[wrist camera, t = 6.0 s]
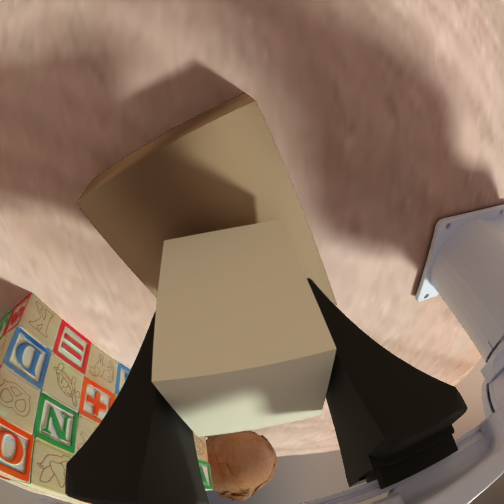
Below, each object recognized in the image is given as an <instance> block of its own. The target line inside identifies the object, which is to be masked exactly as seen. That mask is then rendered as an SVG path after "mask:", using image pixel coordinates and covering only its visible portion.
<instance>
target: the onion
mask: <svg viewBox="0 0 504 504" xmlns="http://www.w3.org/2000/svg"><path fill="white" fill-rule="evenodd" d="M206 447H207V454H208V463H209V464H210V469H211V476H212V484H213V490H214V491H216V492H219V493H221V494H220V495H218V496H221V497H226V498H230V499H232V500H238V501H244V500H246V499H247V498H249V497H250V496H251V495H254V494H255V492H257V491H258V490H259V489H260V488H262V487H263V486H264V485H265V484H266V483H268V482H269V481H270V480H271V479H272V477H273V476H274V474H275V472H276V468H277V458H276V453H275V451H274V449H273V447H272V446H271V444H270V443H269V441H268V440H267V439H266V438H265V437H264V436H263V435H261V436H260V435H258V434H257V433H255V432H252V431H241V432H234V433H227V434H219V435H212V436H209V437H208V439H207V440H206Z"/></svg>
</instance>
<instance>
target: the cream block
mask: <svg viewBox="0 0 504 504" xmlns="http://www.w3.org/2000/svg"><path fill="white" fill-rule="evenodd" d="M335 353H336V346H335V344H334V341H333V339H332V337H331V334H330V332H329V329H328V327H327V325H326V322H325V320H324V318H323V315H322V313H321V311H320V308H319V306H318V304H317V301H316V299H315V297H314V294H313V292H312V290H311V287H310V285H309V283H308V281H307V278H306V276H305V274H304V272H303V269H302V267H301V265H300V263H299V260H298V258H297V256H296V254H295V251H294V249H293V247H292V245H291V243H290V240H289V238H288V236H287V234H286V232H285V230H284V227H283V225H282V223H281V221H280V220H274V221H268V222H263V223H257V224H251V225H245V226H240V227H234V228H229V229H223V230H217V231H212V232H207V233H201V234H196V235H191V236H185V237H180V238H175V239H170V240H165V241H164V245H163V252H162V260H161V268H160V276H159V285H158V295H157V305H156V316H155V329H154V343H153V360H152V383H153V384H154V385H155V387H156V388H157V389H158V390H159V392H160V393H161V394H162V395H163V397H164V398H165V399H166V400H167V402H168V403H169V404H170V405H171V406H172V408H173V409H174V410H175V411H176V412H177V414H178V415H179V416H180V417H181V418H182V419H183V421H184V422H185V423H186V424H187V425H188V426H189V427H190V428H191V430H192V431H193V432H194V433H195V434H196V435H197V436H198V437H201V436H211V435H219V434H227V433H234V432H241V431H247V430H253V429H259V428H264V427H269V426H274V425H279V424H284V423H289V422H293V421H297V420H301V419H306V418H310V417H313V416H317V415H321V412H322V409H323V405H324V401H325V397H326V393H327V389H328V385H329V380H330V376H331V372H332V367H333V363H334V358H335Z"/></svg>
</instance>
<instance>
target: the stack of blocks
mask: <svg viewBox="0 0 504 504" xmlns="http://www.w3.org/2000/svg"><path fill="white" fill-rule="evenodd" d="M129 372H130V369H128V368H127V367H125V366H124V365H122V364H121V363H119V362H117V361H116V360H115V359H113V358H112V357H110V356H109V355H107V354H106V353H105V352H103V351H102V350H100V349H99V348H98V347H96V346H95V345H93V344H92V343H91V342H90V341H89V340H88V339H87V338H85V337H84V336H83V335H81V334H80V333H79V332H77V331H76V330H75V329H74V328H72V327H71V326H70V325H69V324H68V323H66V322H65V321H64V320H63V319H61V318H60V317H59V316H58V315H57V314H56V313H55V312H54V311H52V310H51V309H50V308H49V307H48V306H47V305H46V304H44V303H43V302H42V301H41V300H40V299H39V298H38V297H37V296H36V295H35V294H33V293H31V294H30V295H28V296H27V297H26V298H25V299H24V300H23V301H21V302H20V303H19V304H18V305H17V306H16V307H15V308H14V309H13V310H12V311H11V312H10V313H8V314H7V315H6V316H5V317H4V318H3V319H2V320H0V478H1V479H3V480H5V481H7V482H9V483H12V484H14V485H16V486H19V487H21V488H24V489H26V490H29V491H31V492H35V493H38V494H43V495H47V496H50V497H53V498H56V499H60V500H63V501H67V502H71V503H74V504H91V503H87V502H84V501H80V500H77V499H74V498H71V497H68V496H67V495H66V494H65V476H66V463H67V462H68V461H69V460H70V459H71V458H72V457H73V456H74V455H75V454H76V453H77V451H78V450H79V449H80V448H81V447H82V446H83V445H84V443H85V442H86V441H87V440H88V438H89V437H90V436H91V435H92V433H93V432H94V431H95V429H96V428H97V427H98V425H99V424H100V423H101V421H102V420H103V418H104V417H105V415H106V414H107V412H108V410H109V409H110V407H111V406H112V404H113V402H114V401H115V399H116V397H117V396H118V394H119V392H120V390H121V388H122V387H123V385H124V383H125V381H126V379H127V377H128V375H129ZM193 435H194V442H195V447H196V452H197V458H198V462H199V467H200V471H201V476H202V480H203V484H204V487H205V491H206V490H213V484H212V476H211V469H210V464H209V463H208V454H207V447H206V438H205V436H201V437H198V436H197V435H196V434H195V433H194V432H193Z"/></svg>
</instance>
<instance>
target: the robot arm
mask: <svg viewBox="0 0 504 504" xmlns="http://www.w3.org/2000/svg"><path fill="white" fill-rule="evenodd" d="M307 281H308V283H309V285H310V287H311V290H312V292H313V294H314V297H315V299H316V301H317V304H318V306H319V308H320V311H321V313H322V315H323V318H324V320H325V322H326V325H327V327H328V329H329V332H330V334H331V337H332V339H333V341H334V344H335V346H336V353H335V358H334V363H333V367H332V372H331V376H330V380H329V385H328V389H327V393H326V399H327V403H328V406H329V410H330V413H331V417H332V420H333V424H334V427H335V431H336V435H337V439H338V443H339V447H340V451H341V455H342V459H343V463H344V468H345V473H346V478H347V481H348V484H349V487H352V486H355V485H357V484H360V483H363V482H366V481H367V483H366V484H363V485H361V486H358V487H355V488H352V489H349V490H347V491H343V492H340V493H337V494H334V495H330V496H327V497H324V498H320V499H316V500H313V501H308V502H304V503H301V504H356V503H359V502H362V501H364V500H367V499H370V498H372V497H375V496H377V495H380V494H382V493H385V492H387V491H389V490H390V491H389V493H388V496H387V497H386V498H383V499H380V500H377V501H375V502H372V503H370V504H469V503H470V502H471V501H472V500H473V499H475V498H476V497H477V496H478V495H479V494H481V493H482V492H483V491H484V490H485V489H486V488H488V487H489V486H490V485H491V484H492V483H493V482H494V481H495V480H496V479H497V478H499V477H500V476H501V475H502V474H503V473H504V204H503V205H498V206H494V207H490V208H486V209H482V210H477V211H473V212H469V213H464V214H460V215H456V216H452V217H447V218H443V219H440V220H439V221H438V222H437V223H436V227H435V231H434V235H433V239H432V243H431V247H430V250H429V254H428V258H427V261H426V265H425V268H424V271H423V275H422V278H421V281H420V284H419V287H418V291H417V294H416V297H415V298H416V300H417V301H418V302H420V301H423V300H426V299H429V298H431V297H434V296H437V295H440V296H441V297H442V299H443V300H444V301H445V303H446V304H447V305H448V307H449V308H450V309H451V311H452V312H453V314H454V315H455V316H456V318H457V319H458V321H459V322H460V324H461V325H462V327H463V328H464V329H465V331H466V332H467V334H468V335H469V337H470V338H471V340H472V341H473V343H474V344H475V346H476V348H477V349H478V351H479V352H480V354H481V355H482V357H483V359H484V360H485V362H486V365H485V366H484V367H483V368H482V369H481V372H482V374H483V376H484V378H485V380H484V382H483V385H482V404H483V409H484V413H485V416H486V419H485V420H484V421H482V422H481V423H480V424H479V425H478V426H476V427H475V428H474V429H472V430H470V431H469V432H467V433H466V434H464V435H463V436H461V437H460V438H458V439H456V440H454V439H453V436H452V434H453V433H454V429H453V427H452V423H454V422H455V421H456V420H457V419H458V418H460V417H461V416H462V415H463V414H464V413H465V412H466V410H467V406H466V404H465V402H464V400H463V398H462V396H461V395H460V393H459V392H458V390H457V389H456V387H454V386H451V385H449V384H447V383H444V382H442V381H440V380H438V379H436V378H434V377H431V376H429V375H428V374H426V373H424V372H422V371H420V370H418V369H416V368H415V367H413V366H411V365H410V364H408V363H406V362H405V361H403V360H401V359H400V358H398V357H396V356H395V355H393V354H392V353H391V352H389V351H388V350H386V349H385V348H383V347H382V346H381V345H379V344H378V343H377V342H375V341H374V340H373V339H372V338H370V337H369V336H368V335H367V334H365V333H364V332H363V331H362V330H361V329H360V328H359V327H357V326H356V325H355V324H354V323H353V322H352V321H351V320H350V319H349V318H347V317H346V316H345V315H344V314H343V313H342V312H341V311H340V310H339V309H338V308H337V307H336V306H335V305H334V304H333V303H332V302H331V301H330V299H329V298H328V297H327V296H326V295H325V294H324V293H323V292H322V291H321V290H320V288H319V287H318V286H317V285H316V284H315V283H314V281H313V280H312V279H310V278H307ZM155 316H156V311H155V313H154V316H153V318H152V321H151V324H150V326H149V329H148V331H147V334H146V336H145V339H144V341H143V344H142V346H141V348H140V351H139V353H138V355H137V358H136V360H135V362H134V364H133V366H132V368H131V370H130V372H129V375H128V377H127V379H126V381H125V383H124V385H123V387H122V388H121V390H120V392H119V394H118V396H117V397H116V399H115V401H114V402H113V404H112V406H111V407H110V409H109V410H108V412H107V414H106V415H105V417H104V418H103V420H102V421H101V423H100V424H99V425H98V427H97V428H96V429H95V431H94V432H93V433H92V435H91V436H90V437H89V438H88V440H87V441H86V442H85V443H84V445H83V446H82V447H81V448H80V449H79V450H78V451H77V453H76V454H75V455H74V456H73V457H72V458H71V459H70V460H69V461H68V462H67V463H66V476H65V494H66V495H67V496H68V497H71V498H74V499H77V500H80V501H84V502H87V503H91V504H209V501H208V498H207V495H206V491H205V487H204V484H203V480H202V476H201V471H200V467H199V462H198V458H197V452H196V447H195V442H194V435H193V431H192V430H191V428H190V427H189V426H188V425H187V424H186V423H185V422H184V421H183V419H182V418H181V417H180V416H179V415H178V414H177V412H176V411H175V410H174V409H173V408H172V406H171V405H170V404H169V403H168V402H167V400H166V399H165V398H164V397H163V395H162V394H161V393H160V392H159V390H158V389H157V388H156V387H155V385H154V384H153V383H152V360H153V343H154V329H155ZM35 502H36V503H35V504H62V503H59V502H55V501H52V500H48V499H44V498H41V497H38V496H37V497H36V500H35Z"/></svg>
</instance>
